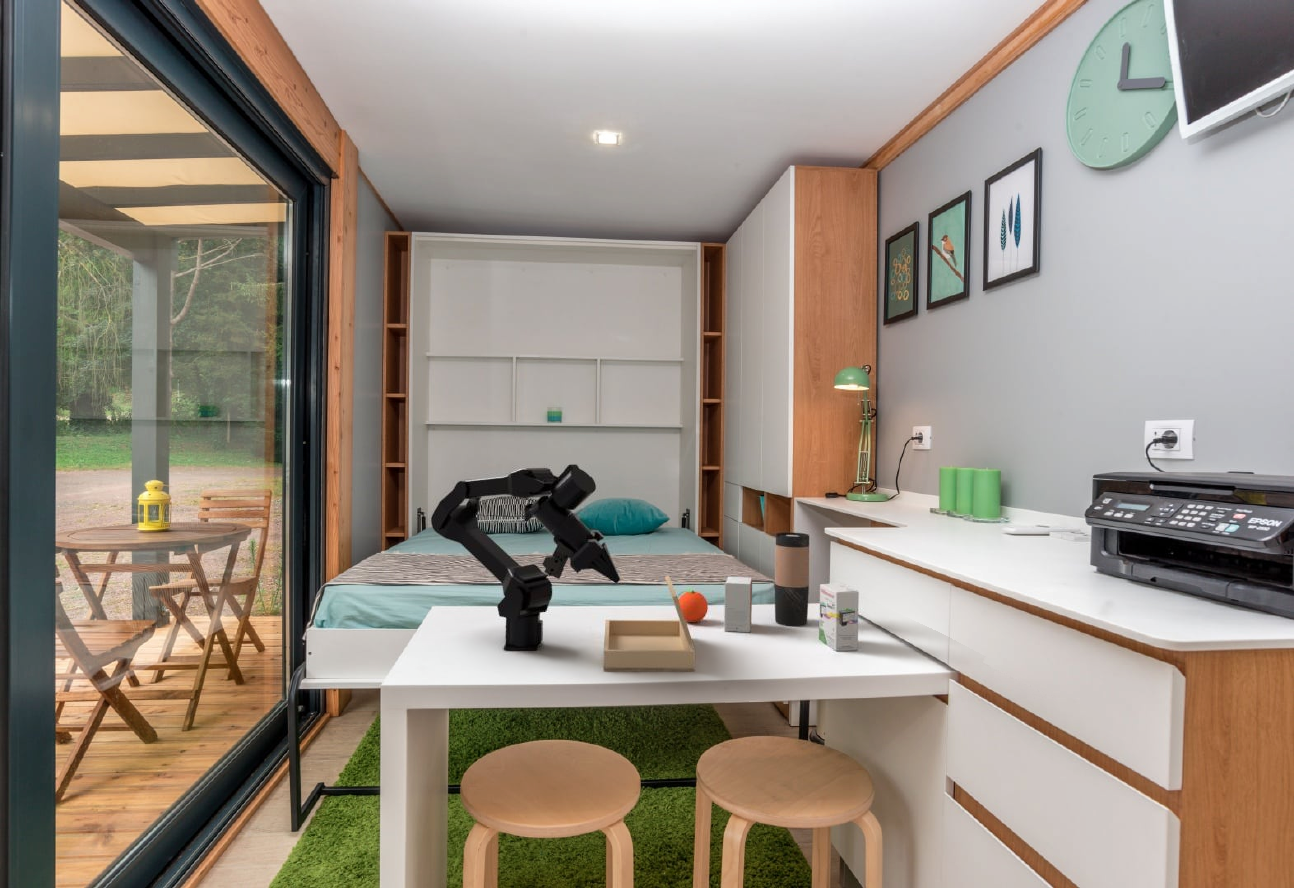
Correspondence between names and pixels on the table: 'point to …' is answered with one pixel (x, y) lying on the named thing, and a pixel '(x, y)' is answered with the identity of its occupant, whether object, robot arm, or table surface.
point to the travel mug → (791, 578)
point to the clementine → (693, 606)
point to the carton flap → (679, 610)
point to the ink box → (839, 616)
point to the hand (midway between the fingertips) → (618, 581)
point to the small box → (738, 604)
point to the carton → (647, 646)
